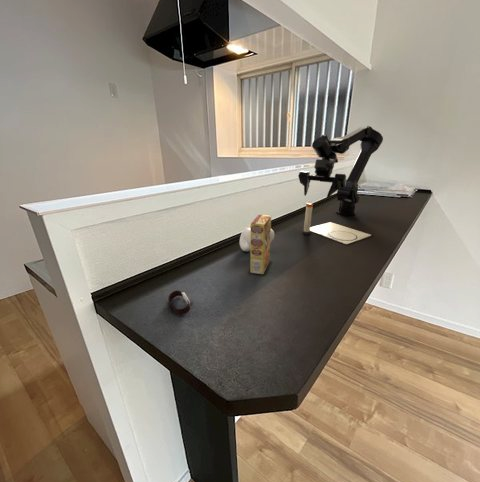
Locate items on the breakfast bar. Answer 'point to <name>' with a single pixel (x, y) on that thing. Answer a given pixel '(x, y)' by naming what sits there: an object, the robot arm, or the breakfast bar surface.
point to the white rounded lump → (249, 238)
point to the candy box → (260, 243)
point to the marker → (308, 218)
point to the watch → (179, 293)
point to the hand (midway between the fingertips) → (315, 196)
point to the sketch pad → (339, 233)
